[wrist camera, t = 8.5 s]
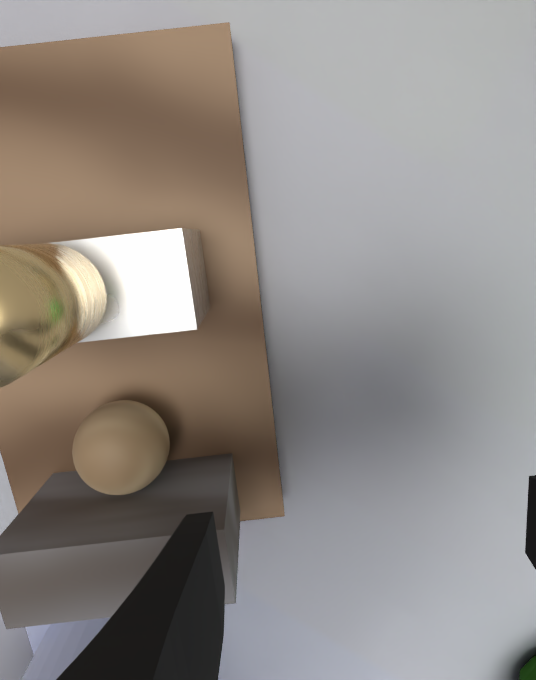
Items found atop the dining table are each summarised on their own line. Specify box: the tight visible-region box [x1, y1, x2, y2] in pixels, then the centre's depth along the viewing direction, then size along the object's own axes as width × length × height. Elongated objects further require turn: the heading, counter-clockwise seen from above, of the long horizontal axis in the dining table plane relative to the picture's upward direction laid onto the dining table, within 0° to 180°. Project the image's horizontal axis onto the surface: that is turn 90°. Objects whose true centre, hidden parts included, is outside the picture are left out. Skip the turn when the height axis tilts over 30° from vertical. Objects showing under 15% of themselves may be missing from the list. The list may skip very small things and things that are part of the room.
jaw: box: [0, 228, 210, 388], centre depth 13 cm, size 3×8×8 cm, turn 96°
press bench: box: [0, 23, 285, 629], centre depth 16 cm, size 20×12×6 cm, turn 6°
